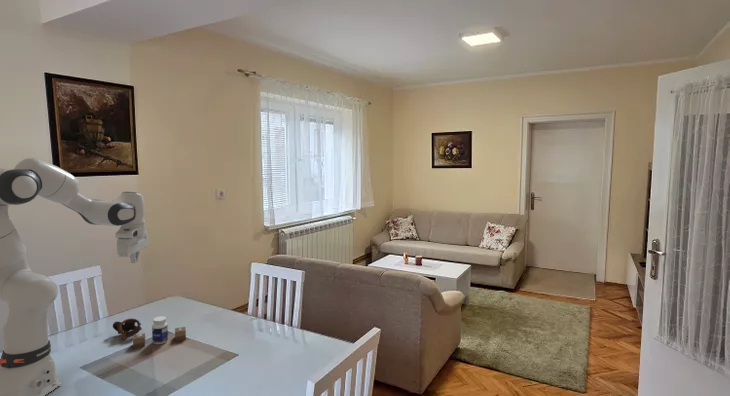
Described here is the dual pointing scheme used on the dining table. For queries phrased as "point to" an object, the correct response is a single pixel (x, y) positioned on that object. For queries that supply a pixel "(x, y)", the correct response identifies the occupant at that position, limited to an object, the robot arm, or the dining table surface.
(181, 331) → the walnut block bar
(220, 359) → the dining table surface
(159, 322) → the pill bottle
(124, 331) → the pottery mug
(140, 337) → the walnut block dot
